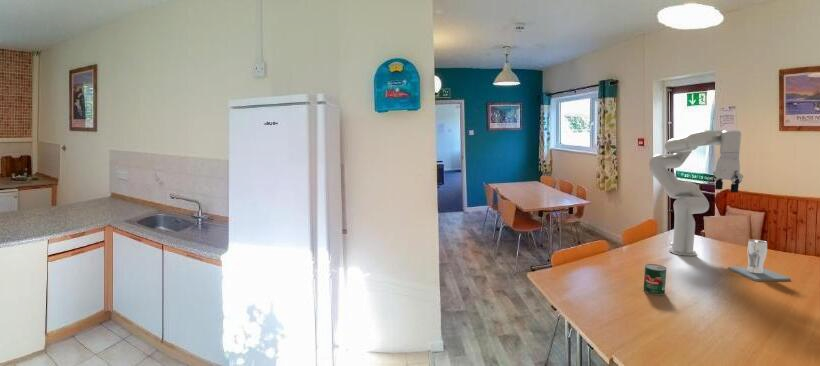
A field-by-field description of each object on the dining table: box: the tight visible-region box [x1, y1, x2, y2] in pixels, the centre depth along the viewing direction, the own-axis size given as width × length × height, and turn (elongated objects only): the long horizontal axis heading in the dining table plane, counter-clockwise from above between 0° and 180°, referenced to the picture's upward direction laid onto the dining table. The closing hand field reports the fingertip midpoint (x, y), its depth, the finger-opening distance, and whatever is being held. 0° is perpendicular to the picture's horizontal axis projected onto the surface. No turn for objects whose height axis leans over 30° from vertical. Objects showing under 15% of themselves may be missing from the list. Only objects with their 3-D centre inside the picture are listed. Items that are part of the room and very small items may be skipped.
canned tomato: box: [643, 263, 667, 296], centre depth 172 cm, size 8×8×11 cm
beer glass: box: [747, 238, 768, 274], centre depth 190 cm, size 7×7×15 cm
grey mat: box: [727, 266, 792, 282], centre depth 191 cm, size 16×16×1 cm
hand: (726, 190), depth 199 cm, fingers open, 9 cm apart
